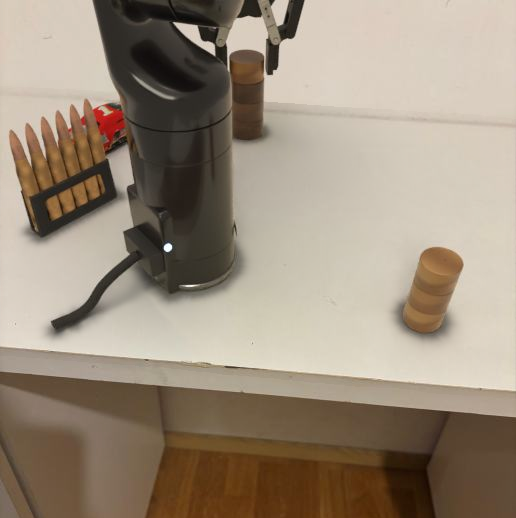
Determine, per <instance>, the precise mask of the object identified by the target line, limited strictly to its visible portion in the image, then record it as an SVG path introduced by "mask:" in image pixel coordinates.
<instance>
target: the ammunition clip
mask: <svg viewBox="0 0 516 518" xmlns="http://www.w3.org/2000/svg"><path fill="white" fill-rule="evenodd" d="M82 109H83V116H84V120H85V126H86V136H85V132H84V129H83V125H82V122H81V116H80V113H79V111H78V109H77V108H76V106H75V105H74V104H73V103H71V104H70V106H69V122H70V128H72V134H73V143H72V140H71V137H70V134H69V130H68V129H69V128H68V125H67V122H66V120H65V118H64V116H63V113H61V111H60V110H59V109H57V110H56V111H55V120H54V121H55V128H56V129H55V130H56V135H57V141H58V140H59V146H60V151H59V148H58V142H57V141H56V137H55V134H54V132H53V129H52V127H51V125H50V123H49V121H48V120H47V118H46V117H45V116H41V118H40V132H41V138H42V141H43V146H44V152H45V154H44V152H43V149H42V147H41V144H40V141H39V139H38V136H37V133H36V132H35V130H34V129H33V127H32V126H31V125H30V123H29V122H26V123H25V127H24V134H25V142H26V145H27V149H28V153H29V157H30V158H29V159H30V162H29V159H28V157H27V154H26V152H25V149H24V145H23V144H22V141H21V140H20V138H19V137H18V134H17V133H16V132H15V131H14V130H13V129H9V133H8V140H9V147H10V151H11V155H12V158H13V162H14V166H15V173H16V177H17V180H18V183H19V185H20V189H21V190H20V194H21V197H22V201H23V204H24V208H25V212H26V215H27V218H28V221H29V225H30V229H31V231H32V232H34V233H35V234H36V235H38V236H39V237H40V238H45V237H46V236H48V235H49V234H52V233H53V232H55V231H57V230H58V229H61V228H62V227H65V226H66V225H68V224H70V223H72V222H73V221H76V220H77V219H79V218H81V217H83V216H85V215H87V214H89V213H91V212H92V211H94V210H96V209H97V208H99V207H101V206H103V205H105V204H107V203H108V202H110V201H113V200H115V199H116V198H117V197H118V193H117V189H116V185H115V181H114V177H113V176H114V175H113V172H112V168H111V165H110V161H109V158H107V157H106V153H105V151H104V146H103V142H102V137H101V134H100V132H99V129H98V125H97V122H96V118H95V114H94V111H93V109H94V108H93V106H92V105H91V102H90V101H89V100H88V98H87V97H85V98H84V99H83V106H82ZM86 137H87V138H86Z"/></svg>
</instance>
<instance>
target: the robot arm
mask: <svg viewBox="0 0 516 518" xmlns="http://www.w3.org/2000/svg"><path fill="white" fill-rule="evenodd" d="M91 1H92V6H93V11H94V13H95V18H96V22H97V27H98V31H99V35H100V40H101V44H102V48H103V49H102V50H103V54H104V58H105V63H106V64H105V65H106V67H107V71H108V75H109V78H110V81H111V83H112V85H113V87H114V89H115V91H116V93H117V94H118V97H119V102H121V108H122V112H123V118H124V124H125V130H126V136H127V140H126V142H127V148H128V154H129V161H130V165H131V166H130V167H131V174H132V179H133V182H132V183H131V184H128V185H127V186H126V193H127V199H128V204H129V210H130V216H131V222H132V227H130V228H128V229H125V230H123V231H122V234H123V238H124V244H125V249H126V250H125V251H126V252H127V253H128V255H127V256H126V257H125V258H123V259H122V260H121V261H120V262H119V263H117V264H116V265H115V266H114V267H112V268H111V269H110V270H109V271H108V272H107V273H106V274H105V275H104V276H103V277H102V278H101V279H100V280H99V282H98V283H97V284H96V285H95V287H94V289H92V291H91V294H90V295H89V296H88V298H87V299H86V301H85V302H84V303H83V304H81V306H80V307H78V308H77V309H75V310H74V311H72V312H70V313H67V314H64V315H62V316H59V317H57V318H55V319H52V320H50V323H51V326H52V328H53V329H54V331H58V330H59V329H62V328H63V327H67V326H69V325H71V324H74V323H76V322H78V321H80V320H82V319H83V318H85V317H86V316H87V315H89V314H90V313H91V312H92V311H93V310H94V309H95V307H96V306H97V305H98V303H99V301H100V300H101V298H102V296H103V295H104V293H105V292H106V291H107V289H108V288H109V287H110V286H111V285H112V284H113V283H114V282H115V281H116V280H118V279H119V277H121V276H122V275H123V274H124V273H125V272H127V271H128V270H129V269H130V268H132V267H133V266H134V265H135V264H136V263H138V264H139V265H140V267H142V268H143V270H144V271H145V272H146V273H147V274H148V276H150V277H151V278H152V279H153V280H154V281H156V282H157V283H158V284H159V286H161V287H162V288H163V290H165V291H166V292H167V294H169V295H171V294H174V293H177V292H180V291H184V292H185V291H187V292H189V291H190V292H191V291H193V292H194V291H200V290H205V289H209V288H211V287H214V286H217V285H218V284H220V283H222V282H223V281H224V280H226V279H227V278H228V277H229V276H230V275H231V274H232V272H233V271H234V268H235V265H236V250H235V236H236V238H237V237H238V233H237V232H238V231H237V224H236V222H235V212H234V208H235V207H234V206H235V205H234V158H233V157H234V156H233V155H234V153H233V152H234V150H233V147H234V146H233V135H232V83H231V77H230V73H229V59H228V45H227V41H228V38H229V34H230V32H231V30H232V28H233V25H234V22H235V21H236V20H237V19H244V18H246V17H251V18H262V20H263V22H264V25H265V28H266V32H267V38H265V58H264V70H265V72H266V76H274V71H277V70H278V68H279V61H280V44H281V43H282V42H284V41H286V40H292V39H294V38H296V35H297V30H298V27H299V23H300V19H301V16H302V12H303V9H304V5H305V1H306V0H288V3H287V7H286V11H285V15H284V18H283V21H282V24H279V25H277V21H276V18H275V15H274V13H273V9H272V6H273V4H274V3H275V1H276V0H91ZM175 23H176V24H181V25H182V24H183V25H189V26H196V27H197V29H198V34H199V37H200V41H202V42H204V43H206V42H207V43H208V42H209V43H212V44H213V46H214V54H213V53H211V52H210V51H208V50H206V49H205V48H203V47H201V46H200V45H198V44H197V43H196V42H195V41H192V40H191V39H190V38H188V36H186V35H185V33H183V32H182V31H181V30H180V29H179V28H178V26H177V25H176V24H175Z"/></svg>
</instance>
